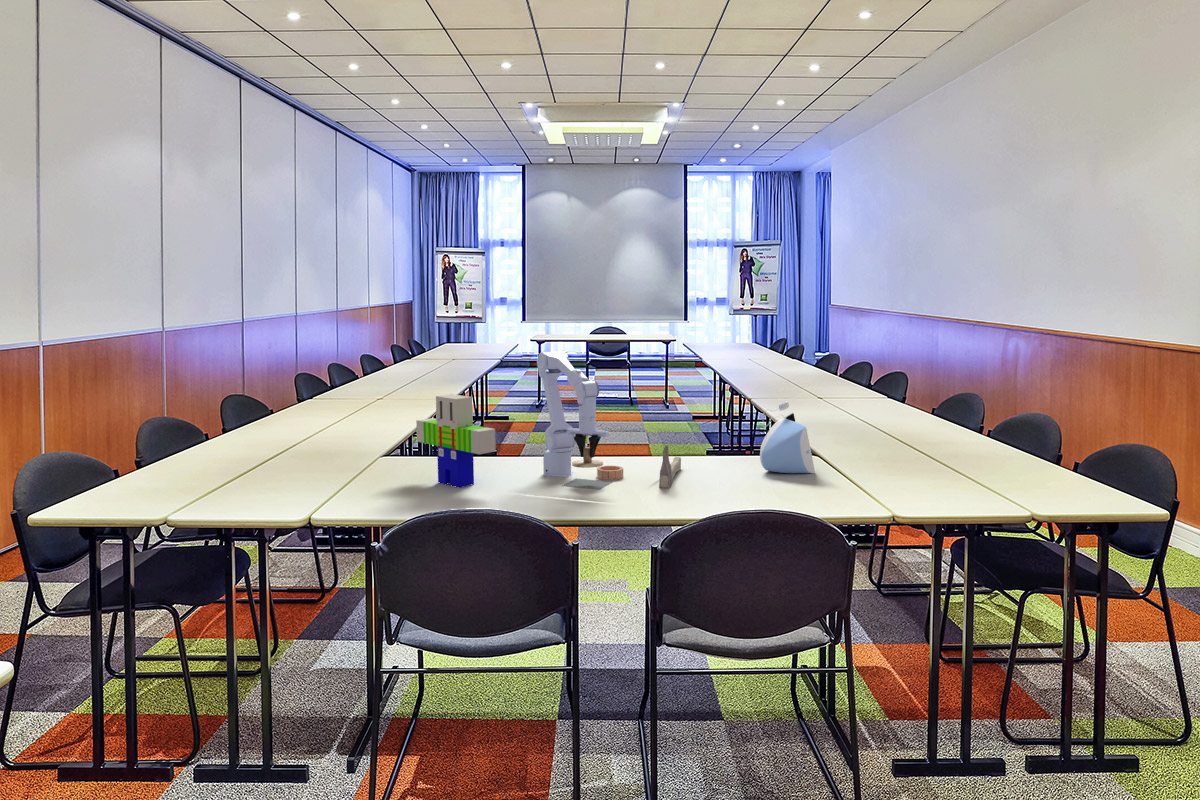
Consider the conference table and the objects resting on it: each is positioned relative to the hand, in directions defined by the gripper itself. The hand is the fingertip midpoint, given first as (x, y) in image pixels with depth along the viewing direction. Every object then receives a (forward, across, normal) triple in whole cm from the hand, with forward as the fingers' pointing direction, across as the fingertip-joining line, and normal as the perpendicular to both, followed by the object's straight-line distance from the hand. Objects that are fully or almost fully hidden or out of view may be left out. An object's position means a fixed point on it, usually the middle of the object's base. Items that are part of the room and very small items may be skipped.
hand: (587, 456), depth 303 cm
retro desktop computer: (+10, +59, +50) cm, 78 cm away
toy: (+10, -43, -14) cm, 46 cm away
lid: (+3, 0, 0) cm, 3 cm away
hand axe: (+10, +23, +21) cm, 33 cm away
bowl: (+10, +3, +13) cm, 17 cm away
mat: (+10, 0, 0) cm, 10 cm away
